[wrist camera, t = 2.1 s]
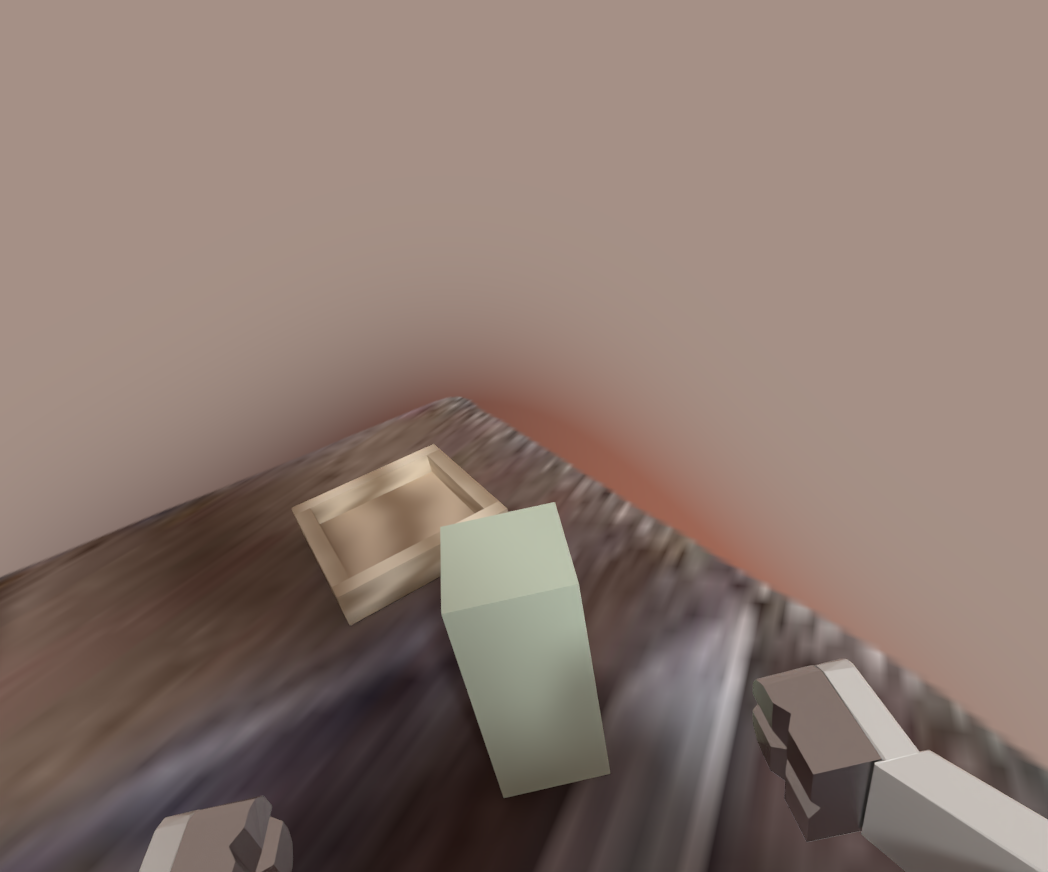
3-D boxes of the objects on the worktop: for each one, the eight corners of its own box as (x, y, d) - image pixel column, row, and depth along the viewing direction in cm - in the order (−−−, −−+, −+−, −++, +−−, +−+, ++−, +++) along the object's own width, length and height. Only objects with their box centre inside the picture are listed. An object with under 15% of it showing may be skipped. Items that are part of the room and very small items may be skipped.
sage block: (503, 798, 27) (441, 613, 21) (494, 702, 32) (440, 526, 26) (610, 773, 27) (578, 583, 21) (586, 681, 32) (554, 502, 26)
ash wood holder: (349, 625, 38) (337, 597, 37) (302, 532, 48) (291, 508, 46) (513, 536, 43) (507, 508, 42) (440, 467, 52) (433, 443, 51)
